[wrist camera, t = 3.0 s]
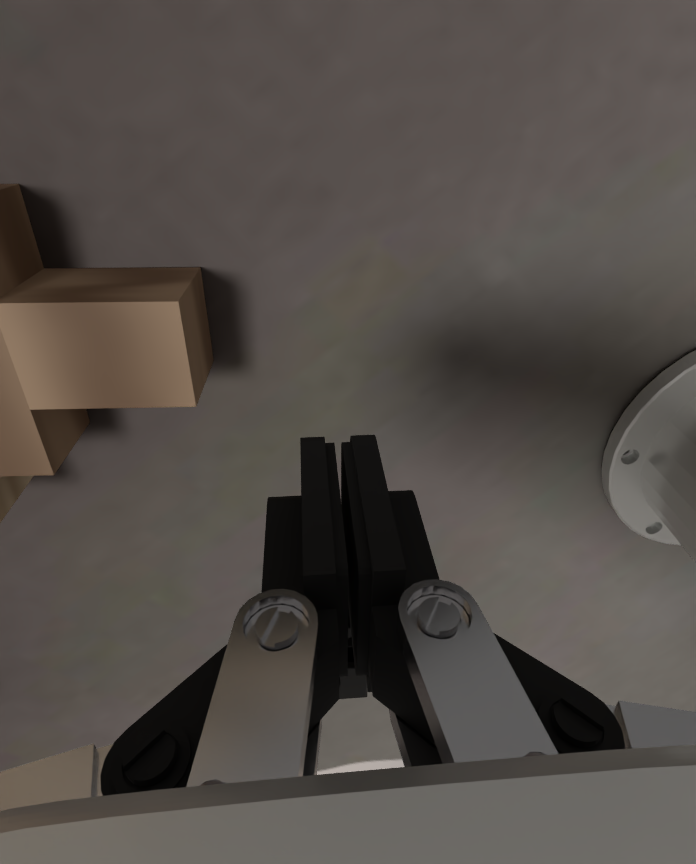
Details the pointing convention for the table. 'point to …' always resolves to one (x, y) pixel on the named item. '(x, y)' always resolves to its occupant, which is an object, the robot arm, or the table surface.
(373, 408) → the table surface
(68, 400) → the tee block
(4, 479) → the light wooden angled piece
